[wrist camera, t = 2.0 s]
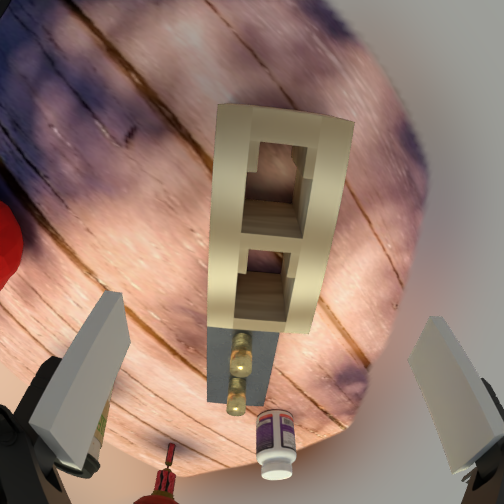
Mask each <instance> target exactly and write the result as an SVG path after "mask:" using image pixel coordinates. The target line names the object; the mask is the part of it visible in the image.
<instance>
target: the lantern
mask: <svg viewBox="0 0 504 504" xmlns="http://www.w3.org/2000/svg"><path fill="white" fill-rule="evenodd" d="M174 451H175V444H172V443H169V446H168V451H167V456H166V462H165V464H166V465H167V468H165V469H163V470H159V471H158V473H157V478H156V483H155V488H154V491H153V493H152V494H151V495H149V496H143V497H141V498H140V499H138V500H137V501H135V502H134V503H133V504H179V503H177V502H176V501H174V498H173V491H174V485H175V478H176V474H174V473H172V471H171V470H170V469H169V466H171V465H172V462H173V456H174Z"/></svg>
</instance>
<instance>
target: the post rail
mask: <svg viewBox="0 0 504 504" xmlns="http://www.w3.org/2000/svg"><path fill="white" fill-rule="evenodd" d="M278 337H279V332H266V331H252V330H240V329H229V328H219V327H209V326H207V402H213V403H223V404H227V410H226V411H227V413H228V414H229V415H232V416H241V415H244V414H245V409H246V405H248V406H264V401H265V397H266V393H267V388H268V384H269V379H270V375H271V370H272V366H273V361H274V356H275V352H276V347H277V342H278Z"/></svg>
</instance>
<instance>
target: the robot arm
mask: <svg viewBox="0 0 504 504" xmlns="http://www.w3.org/2000/svg"><path fill="white" fill-rule="evenodd" d="M9 2H10V0H0V17H1V15H2V14H3V12H4V11H5V9H6V7H7V5H8V4H9ZM130 343H131V341H130V336H129V331H128V326H127V320H126V314H125V309H124V303H123V296H122V293H119V292H113V291H106V290H105V292H104V293H103V295H102V296H101V298H100V299H99V301H98V302H97V304H96V305H95V307H94V308H93V310H92V311H91V313H90V315H89V316H88V318H87V319H86V321H85V322H84V324H83V326H82V327H81V329H80V330H79V332H78V334H77V335H76V337H75V339H74V340H73V342H72V344H71V345H70V347H69V349H68V350H67V352H66V354H65V355H64V357H63V359H62V358H58V357H55V356H51V357H50V358H49V359H48V360H46V361H45V362H44V363H43V364H42V365H41V366H40V368H39V370H38V371H37V373H36V376H35V377H34V378H33V380H32V382H31V383H30V384H31V385H30V386H29V387H28V389H27V390H26V392H25V394H24V396H23V398H22V399H21V401H20V403H19V405H18V407H17V409H16V410H15V412H14V414H12V413H11V411H10V410H9V409H8V408H7V407H6V406H3V405H1V404H0V504H72V503H71V501H70V499H69V497H68V495H67V493H66V490H65V488H64V486H63V483H62V481H61V479H60V477H59V474H58V471H57V469H56V467H55V465H54V461H55V459H56V457H57V458H58V459H59V460H60V461H61V462H62V464H65V465H68V466H70V467H73V468H76V469H79V470H82V468H83V465H84V462H85V459H86V456H87V453H88V450H89V447H90V444H91V441H92V439H93V436H94V433H95V430H96V428H97V425H98V422H99V420H100V417H101V414H102V412H103V409H104V406H105V404H106V401H107V399H108V396H109V394H110V391H111V389H112V386H113V384H114V381H115V379H116V376H117V374H118V371H119V369H120V367H121V364H122V362H123V359H124V357H125V355H126V352H127V350H128V348H129V345H130ZM408 362H409V364H410V367H411V369H412V371H413V374H414V376H415V378H416V380H417V382H418V385H419V387H420V390H421V392H422V395H423V397H424V399H425V402H426V404H427V407H428V409H429V412H430V414H431V417H432V419H433V422H434V425H435V427H436V430H437V432H438V435H439V438H440V441H441V443H442V446H443V449H444V452H445V455H446V457H447V460H448V463H449V466H450V469H451V472H452V474H455V473H457V472H460V471H463V470H466V469H467V468H468V467H470V466H471V465H472V464H473V463H474V462H475V463H476V466H477V467H475V468H474V469H473V470H472V471H471V472H469V473H468V474H467V475H466V476H464V477H463V479H462V480H461V481H462V482H463V481H465V480H466V479H467V478H469V477H470V476H471V477H470V479H469V480H468V481H467V482H466V483H468V486H467V489H466V492H465V494H464V497H463V500H462V502H461V504H504V409H503V407H502V405H501V404H500V402H499V400H498V398H497V397H496V394H495V392H494V391H493V389H492V387H491V385H490V384H489V383H488V382H486V380H485V379H484V378H480V377H479V375H478V373H477V371H476V369H475V368H474V366H473V364H472V363H471V361H470V360H469V358H468V356H467V354H466V353H465V351H464V349H463V348H462V346H461V345H460V343H459V341H458V340H457V338H456V337H455V335H454V334H453V332H452V330H451V329H450V327H449V326H448V325H447V323H446V321H445V320H444V318H443V317H439V316H437V317H435V316H430V317H429V319H428V321H427V323H426V325H425V328H424V329H423V331H422V333H421V336H420V337H419V339H418V341H417V343H416V345H415V347H414V349H413V351H412V353H411V354H410V356H409V358H408Z"/></svg>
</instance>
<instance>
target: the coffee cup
mask: <svg viewBox="0 0 504 504" xmlns="http://www.w3.org/2000/svg"><path fill="white" fill-rule="evenodd" d="M113 386H114V384H113ZM113 386H112V389H111V391H110V394H109V396H108V399H107V401H106V404H105V406H104V409H103V412H102V414H101V417H100V420H99V422H98V425H97V428H96V430H95V433H94V436H93V439H92V441H91V444H90V447H89V450H88V453H87V456H86V459H85V462H84V465H83V468H82V470H79V469H76V468H73V467H70V466H68V465H65V464H62V462H61V461H60V460H59V459H58V458H57V457H56V459H55V461H54V465H55V467H56V468H57V469H59V470H61V471H64V472H66V473H68V474H71V475H73V476H77V477H81V478H86V479H87V478H91V477H92V475H93V474H94V473H95V472H97V471H98V470H99V468H100V464H99V462H98V457H99V452H100V449H101V447H102V443H103V437H104V432H105V427H106V422H107V417H108V412H109V408H110V404H109V403H110V399H111V395H112V391H113Z"/></svg>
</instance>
